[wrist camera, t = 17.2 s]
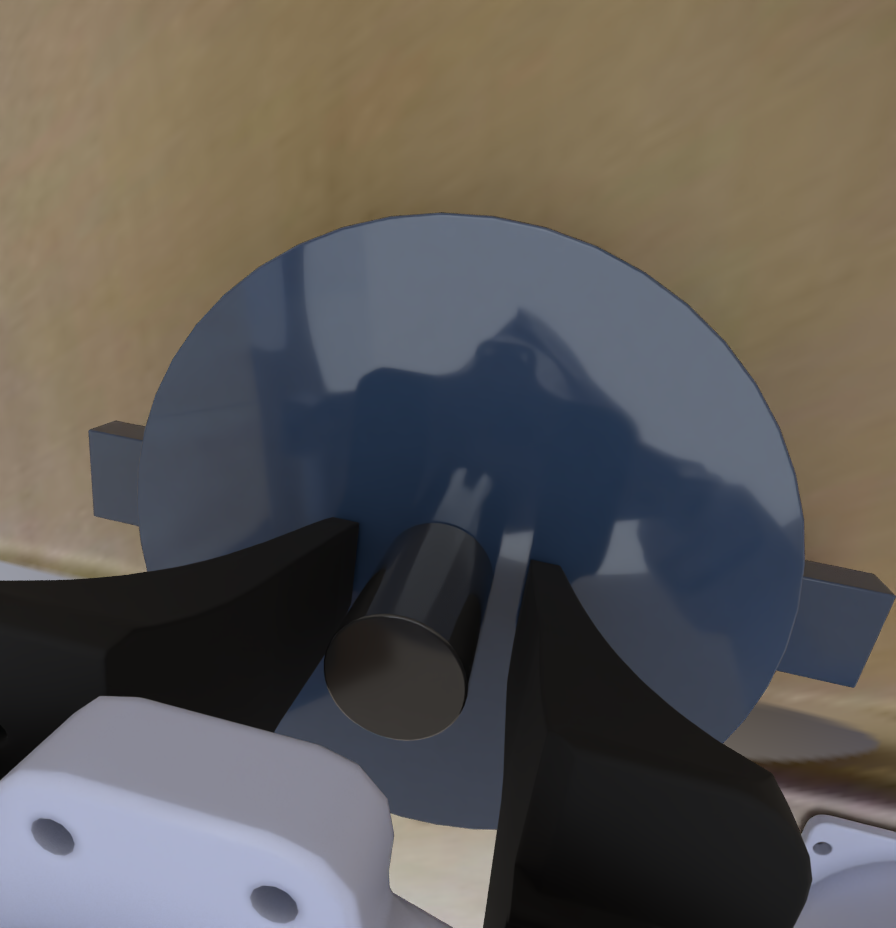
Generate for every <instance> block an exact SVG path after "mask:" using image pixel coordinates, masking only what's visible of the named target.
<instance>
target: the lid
mask: <svg viewBox="0 0 896 928" xmlns="http://www.w3.org/2000/svg"><path fill="white" fill-rule="evenodd" d="M137 511H138V521H139V531H140V540H141V546H142V550H143V554H144V559H145V563H146V568H147V572H149V571H155V570H161V569H168V568H174V567H179V566H184V565H188V564H192V563H197V562H201V561H205V560H209V559H213V558H216V557H220V556H224V555H227V554H230V553H233V552H236V551H239V550H242V549H245V548H248V547H251V546H254V545H257V544H260V543H263V542H266V541H269V540H271V539H274V538H276V537H279V536H282V535H284V534H287V533H289V532H292V531H295V530H297V529H300V528H302V527H305V526H307V525H310V524H313V523H315V522H318V521H321V520H324V519H327V518H331V517H335V518H340V519H344V520H349V521H354V522H358V523H359V531H358V541H357V551H356V561H355V571H354V581H353V591H352V601H351V606H350V608H349V610H348V612H347V614H346V616H345V618H344V619H343V621H342V623H341V624H340V626H339V627H338V629H337V631H336V632H335V634H334V635H333V637H332V639H331V640H330V642H329V644H328V646H327V649H326V652H325V655H324V657H323V658H322V660H321V661H320V663H319V664H318V666H317V667H316V669H315V670H314V672H313V673H312V675H311V676H310V678H309V679H308V681H307V682H306V684H305V685H304V687H303V688H302V690H301V691H300V693H299V694H298V696H297V697H296V699H295V700H294V702H293V703H292V705H291V706H290V708H289V709H288V711H287V712H286V714H285V715H284V717H283V718H282V720H281V722H280V723H279V725H278V727H277V728H276V730H275V732H274V733H277V734H280V735H284V736H288V737H292V738H295V739H299V740H303V741H307V742H310V743H314V744H318V745H321V746H323V747H325V748H327V749H329V750H331V751H333V752H335V753H337V754H339V755H341V756H343V757H345V758H347V759H349V760H351V761H353V762H355V763H357V764H358V765H359V766H360V767H361V768H362V769H363V771H364V772H365V773H366V774H367V775H368V777H369V778H370V779H371V780H372V781H373V782H374V784H375V785H376V786H377V787H378V788H379V789H380V791H381V792H382V793H383V794H384V795H385V797H386V798H387V799H388V804H389V809H390V813H391V814H394V815H397V816H401V817H405V818H409V819H414V820H418V821H422V822H427V823H431V824H436V825H443V826H451V827H459V828H467V829H483V830H497V827H498V820H499V813H500V805H501V797H502V785H503V768H504V742H505V716H506V691H507V679H508V672H509V666H510V660H511V654H512V647H513V641H514V637H515V632H516V627H517V622H518V618H519V613H520V608H521V604H522V599H523V594H524V589H525V585H526V580H527V575H528V570H529V566H530V561H531V560H536V561H540V562H545V563H550V564H554V565H559V566H561V568H562V570H563V571H564V573H565V575H566V577H567V579H568V581H569V583H570V585H571V587H572V589H573V590H574V592H575V594H576V596H577V598H578V599H579V601H580V603H581V604H582V606H583V608H584V609H585V611H586V612H587V614H588V616H589V617H590V619H591V620H592V622H593V624H594V625H595V626H596V628H597V629H598V631H599V632H600V633H601V635H602V636H603V637H604V639H605V640H606V641H607V642H608V644H609V645H610V646H611V647H612V649H613V650H614V651H615V652H616V653H617V655H618V656H619V657H620V658H621V659H622V660H623V661H624V662H625V663H626V664H627V665H628V666H629V668H630V669H631V670H632V671H633V672H634V673H635V674H636V675H637V676H638V677H639V678H640V679H641V680H642V681H643V682H644V683H645V684H646V685H647V686H649V687H650V688H651V689H652V690H653V691H654V692H655V693H657V694H658V695H659V696H660V697H661V698H662V699H663V700H665V701H666V702H667V703H668V704H669V705H670V706H672V707H673V708H674V709H675V710H677V711H678V712H679V713H680V714H682V715H683V716H684V717H686V718H687V719H688V720H689V721H691V722H692V723H694V724H695V725H696V726H698V727H699V728H701V729H702V730H703V731H705V732H706V733H708V734H709V735H710V736H712V737H713V738H715V739H716V740H718V741H719V742H721V743H722V744H723V743H724V742H725V741H726V740H727V738H728V737H729V736H730V735H731V734H732V733H733V732H734V731H735V730H736V729H737V728H738V727H739V726H740V725H741V723H742V722H743V721H744V720H745V719H746V718H747V716H748V715H749V713H750V712H751V710H752V709H753V708H754V706H755V705H756V703H757V702H758V700H759V699H760V697H761V696H762V695H763V693H764V692H765V690H766V689H767V687H768V686H769V684H770V682H771V680H772V677H773V675H774V673H775V671H776V669H777V667H778V665H779V663H780V661H781V659H782V657H783V655H784V653H785V651H786V648H787V645H788V642H789V639H790V635H791V632H792V629H793V626H794V623H795V619H796V616H797V613H798V610H799V603H800V596H801V589H802V582H803V575H804V568H805V540H804V516H803V511H802V505H801V499H800V494H799V488H798V483H797V477H796V472H795V470H794V467H793V464H792V461H791V458H790V455H789V452H788V449H787V446H786V444H785V441H784V438H783V435H782V432H781V429H780V427H779V425H778V423H777V421H776V419H775V417H774V415H773V414H772V412H771V410H770V408H769V406H768V404H767V402H766V400H765V398H764V397H763V395H762V393H761V391H760V389H759V387H758V385H757V383H756V382H755V381H754V379H753V378H752V377H751V375H750V374H749V373H748V371H747V370H746V369H745V367H744V366H743V364H742V363H741V362H740V360H739V359H738V358H737V356H736V355H735V354H734V352H733V351H732V350H731V348H730V347H729V346H728V344H727V343H726V342H725V341H724V340H723V339H722V338H721V337H720V336H719V335H718V334H717V333H716V332H715V331H714V330H713V329H712V328H711V327H710V326H709V325H708V324H707V323H706V322H705V321H704V320H703V319H702V318H701V317H700V316H699V315H698V314H697V313H696V312H695V311H694V310H693V309H692V308H691V307H690V306H689V305H688V304H687V303H686V302H684V301H683V300H682V299H680V298H679V297H678V296H676V295H675V294H674V293H672V292H671V291H670V290H668V289H667V288H666V287H664V286H663V285H662V284H660V283H659V282H658V281H656V280H655V279H654V278H652V277H651V276H650V275H648V274H647V273H646V272H644V271H642V270H640V269H638V268H637V267H635V266H633V265H631V264H629V263H627V262H625V261H624V260H622V259H620V258H618V257H616V256H614V255H613V254H611V253H609V252H607V251H605V250H603V249H601V248H600V247H598V246H595V245H593V244H590V243H587V242H585V241H582V240H579V239H577V238H574V237H571V236H568V235H566V234H563V233H560V232H558V231H555V230H552V229H550V228H547V227H543V226H538V225H533V224H529V223H524V222H519V221H515V220H510V219H506V218H501V217H496V216H487V215H473V214H458V213H444V212H439V213H426V214H413V215H399V216H389V217H385V218H380V219H376V220H371V221H367V222H362V223H358V224H354V225H349V226H345V227H341V228H339V229H336V230H334V231H331V232H328V233H326V234H323V235H321V236H318V237H315V238H313V239H310V240H308V241H305V242H302V243H300V244H298V245H296V246H294V247H292V248H291V249H289V250H287V251H285V252H284V253H282V254H280V255H278V256H277V257H275V258H273V259H271V260H270V261H268V262H266V263H264V264H263V265H261V266H259V267H258V268H257V269H255V270H254V271H253V272H252V273H250V274H249V275H248V276H247V277H245V278H244V279H243V280H242V281H240V282H239V283H238V284H237V285H235V286H234V287H233V288H231V289H230V290H229V291H228V292H226V293H225V294H224V295H223V296H222V297H221V298H220V300H219V301H218V302H217V303H216V304H215V305H214V306H213V307H212V308H211V309H210V310H209V311H208V312H207V314H206V315H205V316H204V317H203V318H202V319H201V320H200V321H199V322H198V323H197V324H196V326H195V327H194V329H193V330H192V332H191V333H190V334H189V336H188V337H187V339H186V340H185V342H184V343H183V345H182V346H181V348H180V349H179V351H178V352H177V354H176V355H175V357H174V358H173V360H172V362H171V364H170V366H169V368H168V370H167V372H166V374H165V376H164V378H163V380H162V382H161V385H160V387H159V389H158V391H157V393H156V395H155V398H154V401H153V405H152V408H151V411H150V414H149V417H148V421H147V424H146V427H145V430H144V435H143V441H142V447H141V453H140V459H139V466H138V487H137Z"/></svg>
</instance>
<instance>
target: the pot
mask: <svg viewBox="0 0 896 928" xmlns="http://www.w3.org/2000/svg"><path fill="white" fill-rule="evenodd" d="M144 430H145V426H140V425H135V424H130V423H125V422H120V421H113V422H110V423H107V424H104V425H101V426H98V427H96V428H93V429H90V430H89V431H88V432H89V447H90V462H91V478H92V493H93V508H94V516H96V517H100V518H105V519H109V520H114V521H118V522H122V523H127V524H131V525H136V526H139V521H138V511H137V487H138V466H139V459H140V453H141V447H142V441H143V435H144ZM895 598H896V596H895V595H894V594H893V593H892V592H891V591H890V590H889V589H888V588H887V586H886V585H885V584H884V583H883V582H882V581H881V580H880V579H879V578H878V577H877V576H876V575H874V574H872V573H867V572H862V571H857V570H852V569H847V568H842V567H837V566H832V565H827V564H822V563H817V562H813V561H808V560H805V568H804V575H803V582H802V589H801V596H800V603H799V610H798V613H797V616H796V619H795V623H794V626H793V629H792V632H791V635H790V639H789V642H788V645H787V648H786V651H785V653H784V655H783V657H782V659H781V661H780V663H779V665H778V667H777V669H776V670H777V671H781V672H786V673H790V674H794V675H799V676H803V677H808V678H812V679H817V680H821V681H825V682H830V683H834V684H839V685H843V686H848V687H852V688H854V687H855V686H856V684H857V682H858V679H859V677H860V675H861V673H862V671H863V668H864V666H865V664H866V662H867V660H868V657H869V655H870V653H871V651H872V649H873V646H874V644H875V642H876V640H877V638H878V635H879V633H880V631H881V629H882V627H883V624H884V622H885V620H886V618H887V616H888V613H889V611H890V609H891V607H892V605H893V602H894V600H895Z"/></svg>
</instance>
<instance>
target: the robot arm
mask: <svg viewBox="0 0 896 928" xmlns="http://www.w3.org/2000/svg"><path fill="white" fill-rule="evenodd" d="M358 531H359V523H358V522H354V521H349V520H344V519H340V518H335V517H331V518H327V519H324V520H321V521H318V522H315V523H313V524H310V525H307V526H305V527H302V528H300V529H297V530H295V531H292V532H289V533H287V534H284V535H282V536H279V537H276V538H274V539H271V540H269V541H266V542H263V543H260V544H257V545H254V546H251V547H248V548H245V549H242V550H239V551H236V552H233V553H230V554H227V555H224V556H220V557H216V558H213V559H209V560H205V561H201V562H197V563H192V564H188V565H184V566H179V567H174V568H168V569H161V570H155V571H149V572H143V573H136V574H130V575H122V576H112V577H102V578H88V579H74V580H51V581H50V580H45V581H43V580H40V581H39V580H37V581H36V580H35V581H0V928H453V927H451V926H449V925H448V924H446V923H444V922H443V921H441V920H439V919H437V918H436V917H434V916H432V915H430V914H429V913H427V912H425V911H424V910H422V909H420V908H418V907H417V906H415V905H413V904H412V903H410V902H408V901H406V900H405V899H403V898H401V897H400V896H398V895H396V894H394V893H393V892H392V891H391V889H390V886H389V866H390V859H391V853H392V846H393V839H394V831H393V825H392V820H391V815H390V809H389V804H388V799H387V798H386V797H385V795H384V794H383V793H382V792H381V791H380V789H379V788H378V787H377V786H376V785H375V784H374V782H373V781H372V780H371V779H370V778H369V777H368V775H367V774H366V773H365V772H364V771H363V769H362V768H361V767H360V766H359V765H358V764H357V763H355V762H353V761H351V760H349V759H347V758H345V757H343V756H341V755H339V754H337V753H335V752H333V751H331V750H329V749H327V748H325V747H323V746H321V745H318V744H314V743H310V742H307V741H303V740H299V739H295V738H292V737H288V736H284V735H280V734H277V733H274V732H275V730H276V728H277V727H278V725H279V723H280V722H281V720H282V718H283V717H284V715H285V714H286V712H287V711H288V709H289V708H290V706H291V705H292V703H293V702H294V700H295V699H296V697H297V696H298V694H299V693H300V691H301V690H302V688H303V687H304V685H305V684H306V682H307V681H308V679H309V678H310V676H311V675H312V673H313V672H314V670H315V669H316V667H317V666H318V664H319V663H320V661H321V660H322V658H323V657H324V655H325V652H326V649H327V646H328V644H329V642H330V640H331V639H332V637H333V635H334V634H335V632H336V631H337V629H338V627H339V626H340V624H341V623H342V621H343V619H344V618H345V616H346V614H347V612H348V610H349V608H350V606H351V601H352V591H353V581H354V571H355V561H356V551H357V541H358ZM819 842H823V843H820V844H817V843H819ZM483 928H896V832H894V831H890V830H886V829H882V828H878V827H874V826H870V825H866V824H862V823H858V822H854V821H850V820H846V819H842V818H839V817H835V816H831V815H824V814H821V815H815V816H814V817H812V818H810V819H809V820H808V822H807V823H806V825H805V827H804V829H803V832H802V834H800V831H799V828H798V826H797V823H796V821H795V819H794V817H793V814H792V812H791V810H790V807H789V805H788V803H787V801H786V799H785V797H784V795H783V793H782V792H781V790H780V788H779V786H778V784H777V782H776V780H775V778H774V776H773V774H772V773H770V772H769V771H767V770H765V769H764V768H762V767H760V766H759V765H757V764H755V763H754V762H752V761H750V760H749V759H747V758H745V757H744V756H742V755H741V754H739V753H737V752H735V751H734V750H732V749H731V748H729V747H727V746H726V745H724V744H722V743H721V742H719V741H718V740H716V739H715V738H713V737H712V736H710V735H709V734H708V733H706V732H705V731H703V730H702V729H701V728H699V727H698V726H696V725H695V724H694V723H692V722H691V721H689V720H688V719H687V718H686V717H684V716H683V715H682V714H680V713H679V712H678V711H677V710H675V709H674V708H673V707H672V706H670V705H669V704H668V703H667V702H666V701H665V700H663V699H662V698H661V697H660V696H659V695H658V694H657V693H655V692H654V691H653V690H652V689H651V688H650V687H649V686H647V685H646V684H645V683H644V682H643V681H642V680H641V679H640V678H639V677H638V676H637V675H636V674H635V673H634V672H633V671H632V670H631V669H630V668H629V666H628V665H627V664H626V663H625V662H624V661H623V660H622V659H621V658H620V657H619V656H618V655H617V653H616V652H615V651H614V650H613V649H612V647H611V646H610V645H609V644H608V642H607V641H606V640H605V639H604V637H603V636H602V635H601V633H600V632H599V631H598V629H597V628H596V626H595V625H594V624H593V622H592V620H591V619H590V617H589V616H588V614H587V612H586V611H585V609H584V608H583V606H582V604H581V603H580V601H579V599H578V598H577V596H576V594H575V592H574V590H573V589H572V587H571V585H570V583H569V581H568V579H567V577H566V575H565V573H564V571H563V570H562V568H561V566H559V565H554V564H550V563H545V562H540V561H536V560H531V561H530V566H529V570H528V575H527V580H526V585H525V589H524V594H523V599H522V604H521V608H520V613H519V618H518V622H517V627H516V632H515V637H514V641H513V647H512V654H511V660H510V666H509V672H508V679H507V691H506V716H505V742H504V768H503V785H502V797H501V805H500V813H499V820H498V827H497V834H496V841H495V849H494V856H493V863H492V870H491V877H490V884H489V891H488V898H487V905H486V911H485V918H484V925H483Z"/></svg>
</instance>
